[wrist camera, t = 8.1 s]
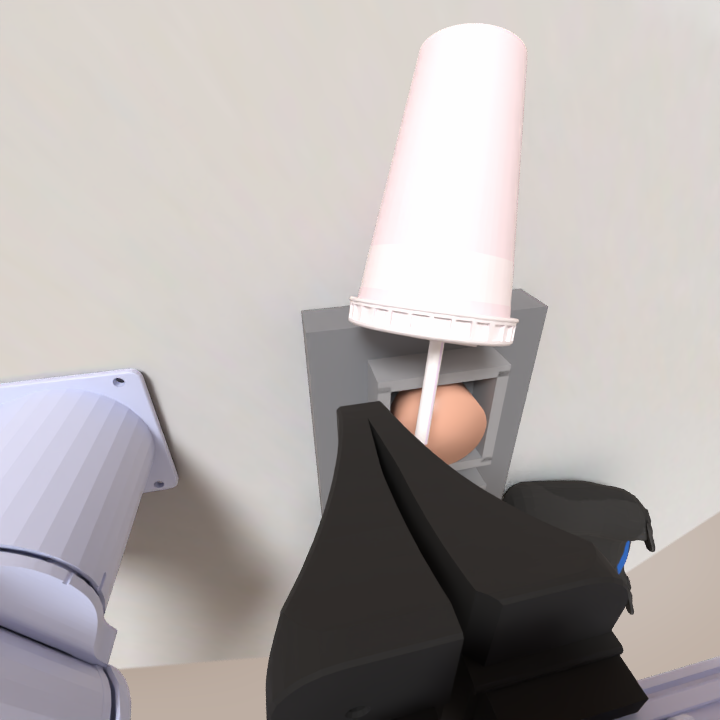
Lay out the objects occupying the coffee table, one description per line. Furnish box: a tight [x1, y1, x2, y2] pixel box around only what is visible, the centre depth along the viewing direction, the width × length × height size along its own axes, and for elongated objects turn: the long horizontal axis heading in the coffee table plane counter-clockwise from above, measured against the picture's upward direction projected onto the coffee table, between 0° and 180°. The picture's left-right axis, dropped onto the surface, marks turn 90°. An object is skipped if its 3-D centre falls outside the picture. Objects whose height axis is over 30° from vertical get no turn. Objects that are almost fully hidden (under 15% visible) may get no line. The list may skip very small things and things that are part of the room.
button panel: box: [301, 289, 548, 515], centre depth 26 cm, size 12×26×4 cm, turn 1°
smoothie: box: [348, 23, 527, 445], centre depth 15 cm, size 6×6×14 cm
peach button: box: [390, 382, 487, 465], centre depth 20 cm, size 4×4×2 cm
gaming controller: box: [503, 481, 655, 614], centre depth 33 cm, size 17×6×10 cm
